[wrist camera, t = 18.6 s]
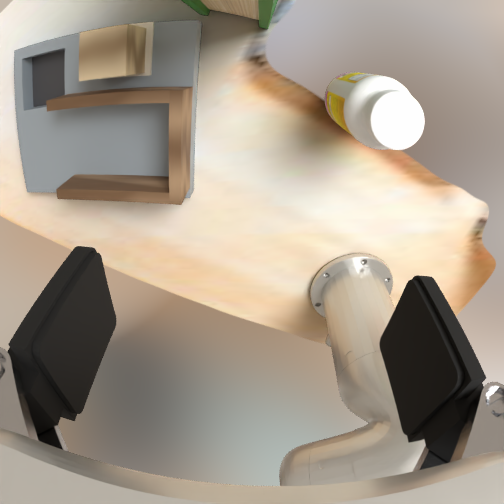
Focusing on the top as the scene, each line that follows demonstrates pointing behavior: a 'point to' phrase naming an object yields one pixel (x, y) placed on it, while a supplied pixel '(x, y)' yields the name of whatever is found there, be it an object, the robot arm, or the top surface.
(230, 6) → the hardback book
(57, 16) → the top surface
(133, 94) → the brown wooden u-shaped frame
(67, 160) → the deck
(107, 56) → the block
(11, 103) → the top surface
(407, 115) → the supplement bottle
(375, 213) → the top surface
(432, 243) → the top surface
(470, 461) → the robot arm
